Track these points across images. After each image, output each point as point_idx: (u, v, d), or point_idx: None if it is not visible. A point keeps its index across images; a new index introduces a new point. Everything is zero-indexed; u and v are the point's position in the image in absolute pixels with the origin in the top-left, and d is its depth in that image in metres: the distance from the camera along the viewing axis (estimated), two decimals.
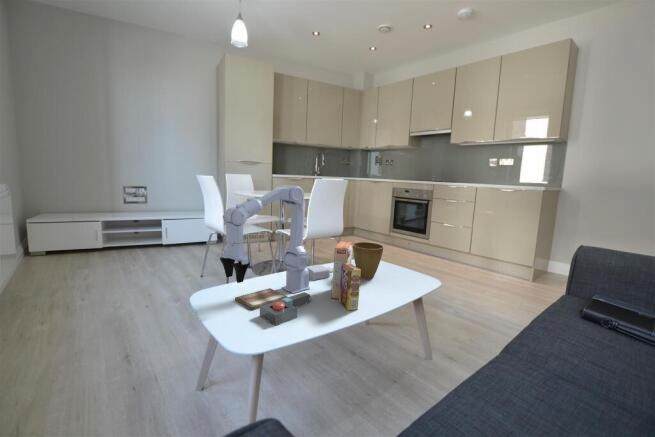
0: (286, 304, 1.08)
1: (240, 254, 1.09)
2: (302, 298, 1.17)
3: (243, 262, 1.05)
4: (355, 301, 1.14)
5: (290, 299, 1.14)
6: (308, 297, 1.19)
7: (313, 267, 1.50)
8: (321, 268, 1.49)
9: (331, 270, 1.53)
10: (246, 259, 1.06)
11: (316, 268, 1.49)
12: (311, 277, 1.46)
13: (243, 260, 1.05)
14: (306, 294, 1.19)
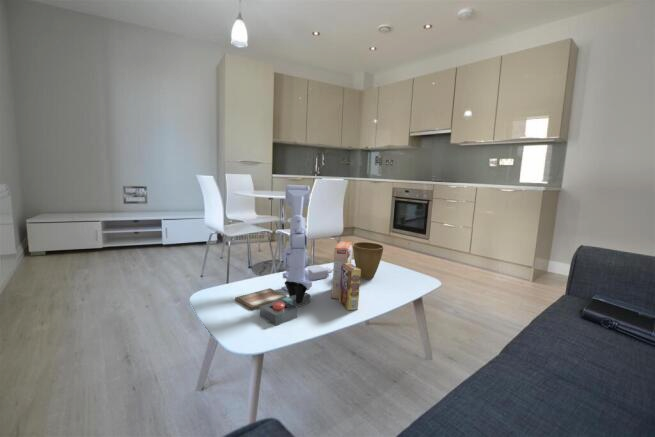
0: (286, 304, 1.08)
1: (303, 277, 1.14)
2: None
3: (308, 286, 1.10)
4: (355, 301, 1.14)
5: (290, 299, 1.14)
6: (308, 297, 1.19)
7: (312, 267, 1.49)
8: (319, 268, 1.49)
9: (329, 270, 1.52)
10: (310, 283, 1.11)
11: (314, 268, 1.48)
12: (309, 277, 1.45)
13: (308, 284, 1.10)
14: (306, 294, 1.19)
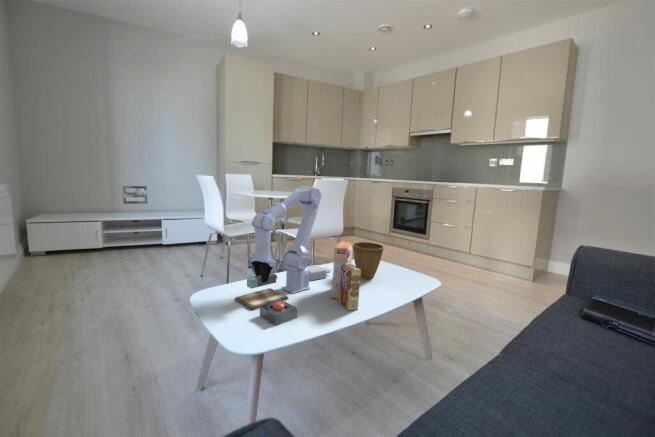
0: (286, 304, 1.08)
1: (268, 257, 1.16)
2: (268, 278, 1.19)
3: (272, 264, 1.12)
4: (355, 301, 1.14)
5: (255, 278, 1.16)
6: (274, 277, 1.21)
7: (310, 268, 1.49)
8: (318, 268, 1.48)
9: (328, 270, 1.52)
10: (274, 262, 1.13)
11: (313, 268, 1.48)
12: None
13: (272, 263, 1.12)
14: (272, 274, 1.21)
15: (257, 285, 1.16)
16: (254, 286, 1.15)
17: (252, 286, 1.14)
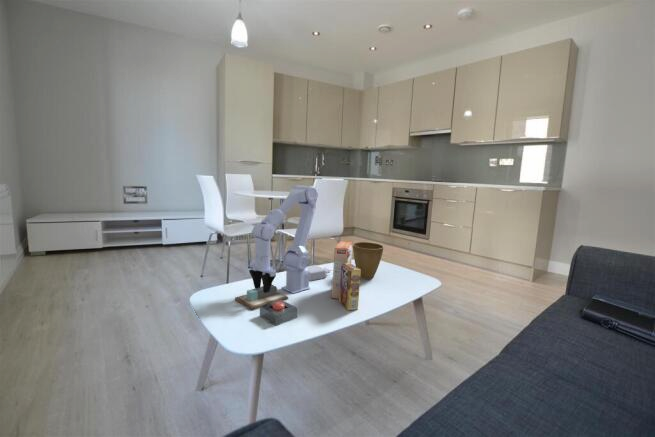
0: (286, 304, 1.08)
1: (268, 266, 1.17)
2: None
3: (271, 274, 1.13)
4: (355, 301, 1.14)
5: (255, 290, 1.17)
6: (274, 289, 1.22)
7: (309, 268, 1.49)
8: (317, 269, 1.48)
9: (327, 270, 1.52)
10: (274, 271, 1.14)
11: (312, 269, 1.47)
12: None
13: (271, 272, 1.13)
14: (272, 286, 1.22)
15: (257, 298, 1.16)
16: (254, 299, 1.16)
17: (252, 299, 1.15)
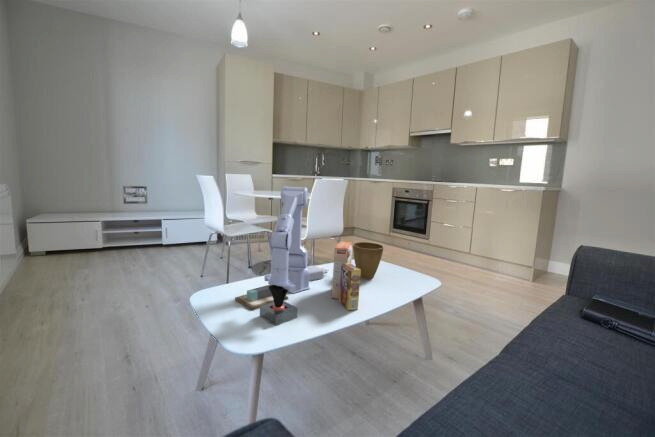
0: (286, 304, 1.08)
1: (286, 280, 1.03)
2: (268, 290, 1.20)
3: (291, 290, 0.99)
4: (355, 301, 1.14)
5: (255, 290, 1.17)
6: None
7: (307, 268, 1.48)
8: (315, 269, 1.47)
9: (325, 271, 1.51)
10: (293, 286, 1.00)
11: (310, 269, 1.47)
12: None
13: (291, 288, 0.99)
14: None
15: (257, 298, 1.16)
16: (254, 299, 1.16)
17: (252, 299, 1.15)
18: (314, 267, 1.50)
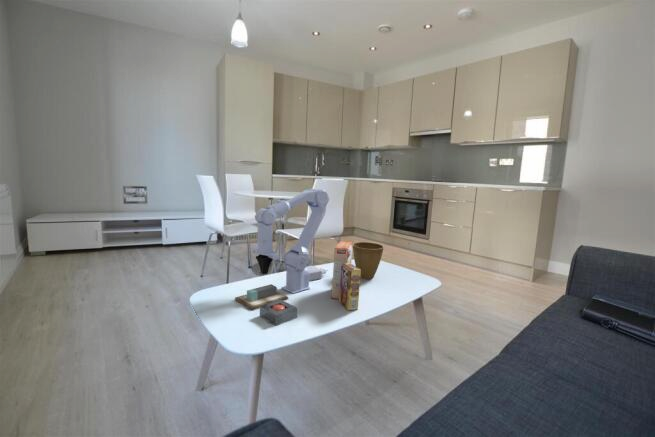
0: (286, 304, 1.08)
1: (270, 251, 1.20)
2: (268, 290, 1.20)
3: (274, 258, 1.16)
4: (355, 301, 1.14)
5: (255, 290, 1.17)
6: (274, 289, 1.22)
7: None
8: (313, 269, 1.47)
9: (323, 271, 1.51)
10: (277, 255, 1.17)
11: (308, 269, 1.46)
12: None
13: (274, 256, 1.16)
14: (272, 286, 1.22)
15: (257, 298, 1.16)
16: (254, 299, 1.16)
17: (252, 299, 1.15)
18: (313, 267, 1.50)
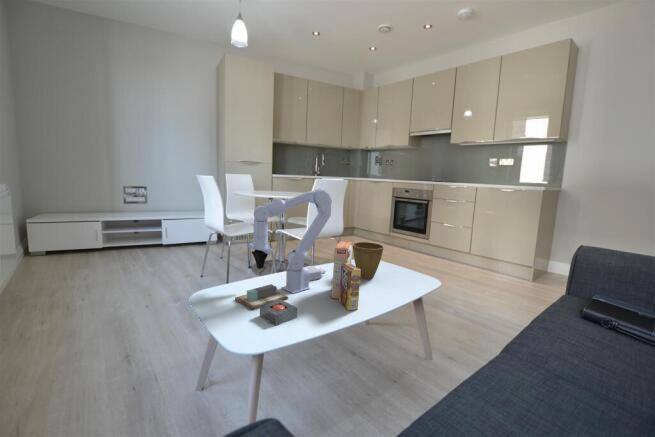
0: (286, 304, 1.08)
1: (265, 246, 1.26)
2: (268, 290, 1.20)
3: (269, 253, 1.22)
4: (355, 301, 1.14)
5: (255, 290, 1.17)
6: (274, 289, 1.22)
7: None
8: (312, 269, 1.46)
9: (323, 271, 1.50)
10: (271, 250, 1.23)
11: None
12: None
13: (269, 251, 1.22)
14: (272, 286, 1.22)
15: (257, 298, 1.16)
16: (254, 299, 1.16)
17: (252, 299, 1.15)
18: (312, 267, 1.49)
